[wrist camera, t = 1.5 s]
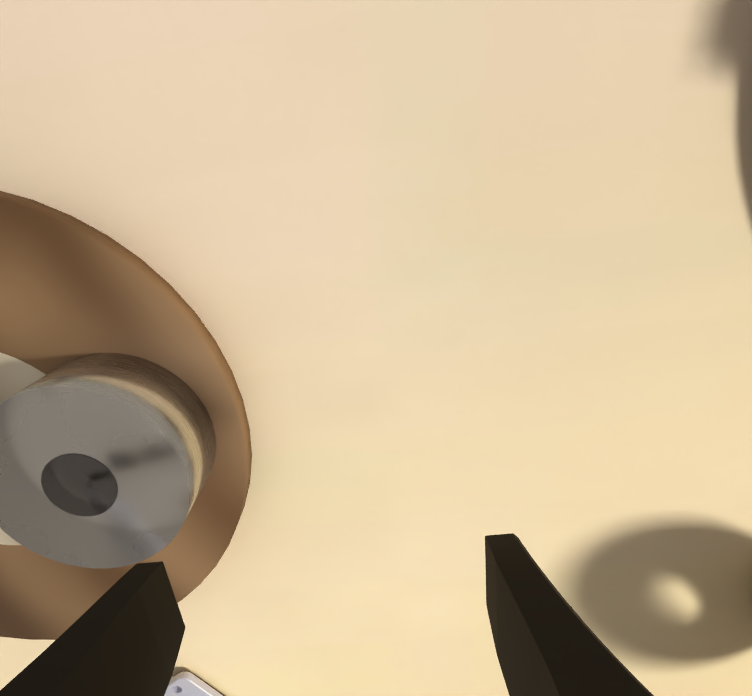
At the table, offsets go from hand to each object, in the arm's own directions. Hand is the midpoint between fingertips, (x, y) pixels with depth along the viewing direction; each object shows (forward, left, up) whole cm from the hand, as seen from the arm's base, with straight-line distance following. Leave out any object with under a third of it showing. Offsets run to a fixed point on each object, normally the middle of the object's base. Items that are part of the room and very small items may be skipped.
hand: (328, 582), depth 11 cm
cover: (-7, +5, -8) cm, 12 cm away
